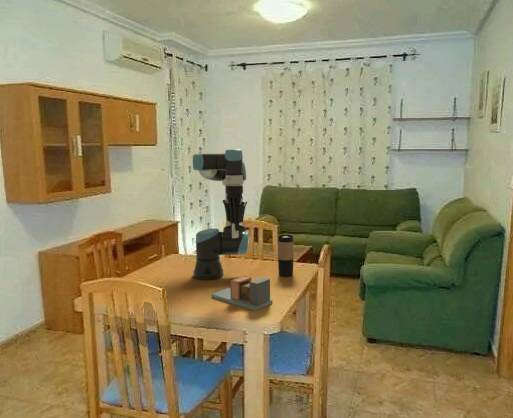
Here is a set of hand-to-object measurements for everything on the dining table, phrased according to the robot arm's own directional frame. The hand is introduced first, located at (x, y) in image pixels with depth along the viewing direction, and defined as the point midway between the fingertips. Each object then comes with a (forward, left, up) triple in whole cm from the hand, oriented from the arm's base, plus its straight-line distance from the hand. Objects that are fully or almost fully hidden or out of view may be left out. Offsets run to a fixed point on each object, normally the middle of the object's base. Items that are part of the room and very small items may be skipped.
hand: (235, 237), depth 199 cm
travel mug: (+3, +33, -25) cm, 41 cm away
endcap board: (+10, -8, -24) cm, 28 cm away
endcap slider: (+10, -8, -23) cm, 26 cm away
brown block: (+16, -8, -23) cm, 29 cm away
